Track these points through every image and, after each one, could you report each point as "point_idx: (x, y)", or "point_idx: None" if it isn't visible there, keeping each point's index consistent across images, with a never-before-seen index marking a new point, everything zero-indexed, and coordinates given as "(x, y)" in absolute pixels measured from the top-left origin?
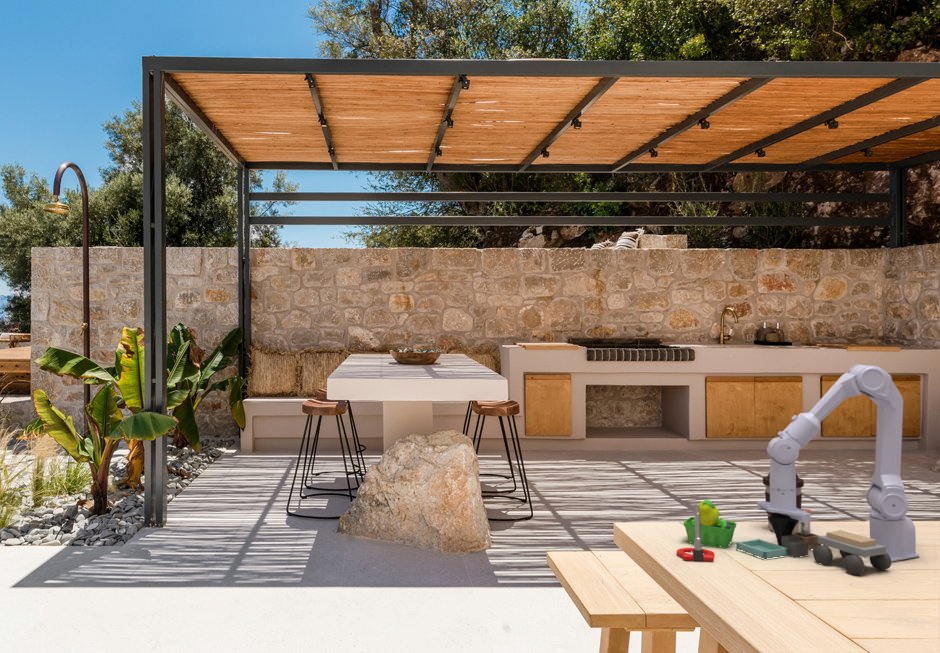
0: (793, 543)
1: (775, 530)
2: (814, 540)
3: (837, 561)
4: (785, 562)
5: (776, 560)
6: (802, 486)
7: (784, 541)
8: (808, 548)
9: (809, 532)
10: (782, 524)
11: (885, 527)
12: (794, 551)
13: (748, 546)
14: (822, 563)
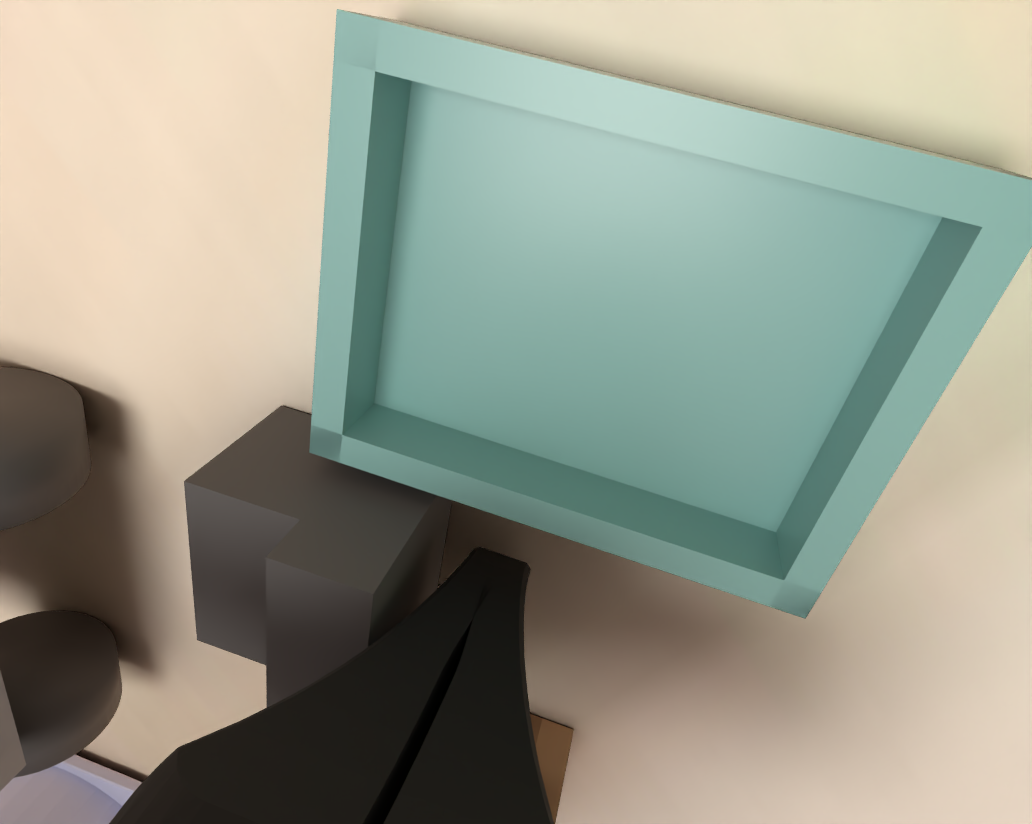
0: (237, 523)
1: (491, 704)
2: None
3: (84, 548)
4: (215, 166)
5: (316, 155)
6: None
7: (350, 536)
8: None
9: None
10: (213, 736)
11: None
12: (253, 442)
13: (722, 106)
14: (11, 371)
